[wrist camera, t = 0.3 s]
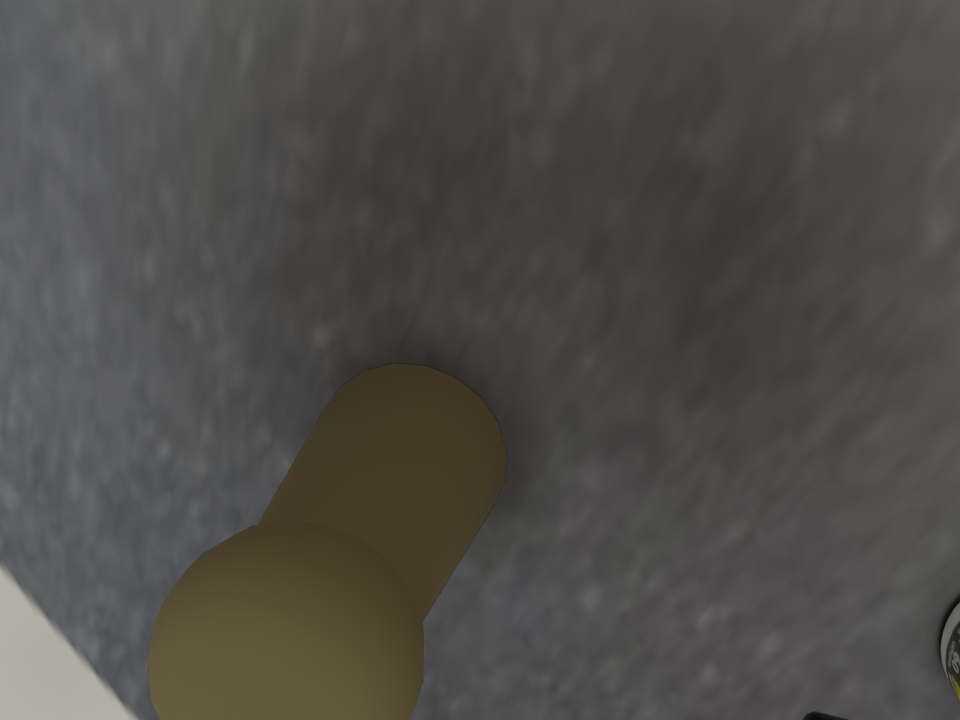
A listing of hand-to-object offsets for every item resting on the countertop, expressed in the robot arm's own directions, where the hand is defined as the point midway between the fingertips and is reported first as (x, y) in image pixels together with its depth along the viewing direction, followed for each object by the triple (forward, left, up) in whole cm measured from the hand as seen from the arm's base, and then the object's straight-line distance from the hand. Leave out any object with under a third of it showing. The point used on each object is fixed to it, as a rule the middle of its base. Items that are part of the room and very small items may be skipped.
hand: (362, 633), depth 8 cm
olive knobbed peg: (-5, +2, -15) cm, 16 cm away
